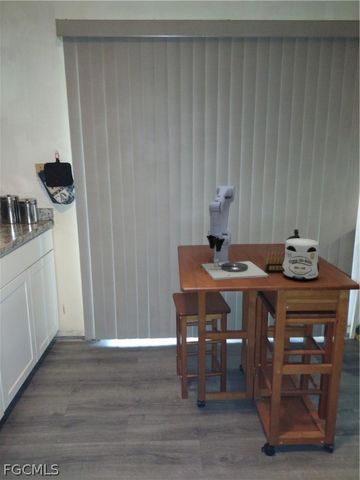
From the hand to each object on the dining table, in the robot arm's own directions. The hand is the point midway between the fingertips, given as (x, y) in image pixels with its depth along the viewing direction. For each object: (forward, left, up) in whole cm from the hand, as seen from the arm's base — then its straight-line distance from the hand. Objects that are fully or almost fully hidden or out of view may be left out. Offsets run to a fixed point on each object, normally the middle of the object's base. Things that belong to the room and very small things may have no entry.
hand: (215, 250), depth 198 cm
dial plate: (+5, +9, -11) cm, 14 cm away
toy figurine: (-18, +54, -11) cm, 58 cm away
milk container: (+21, +38, -11) cm, 45 cm away
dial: (+4, +7, -10) cm, 13 cm away
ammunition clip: (+10, +30, -11) cm, 33 cm away
